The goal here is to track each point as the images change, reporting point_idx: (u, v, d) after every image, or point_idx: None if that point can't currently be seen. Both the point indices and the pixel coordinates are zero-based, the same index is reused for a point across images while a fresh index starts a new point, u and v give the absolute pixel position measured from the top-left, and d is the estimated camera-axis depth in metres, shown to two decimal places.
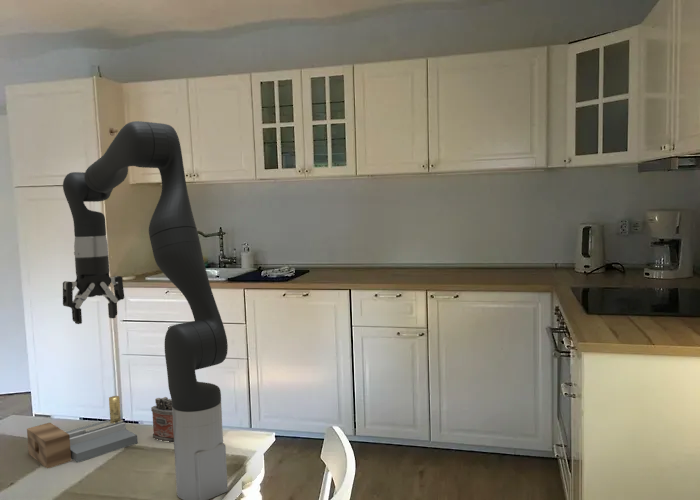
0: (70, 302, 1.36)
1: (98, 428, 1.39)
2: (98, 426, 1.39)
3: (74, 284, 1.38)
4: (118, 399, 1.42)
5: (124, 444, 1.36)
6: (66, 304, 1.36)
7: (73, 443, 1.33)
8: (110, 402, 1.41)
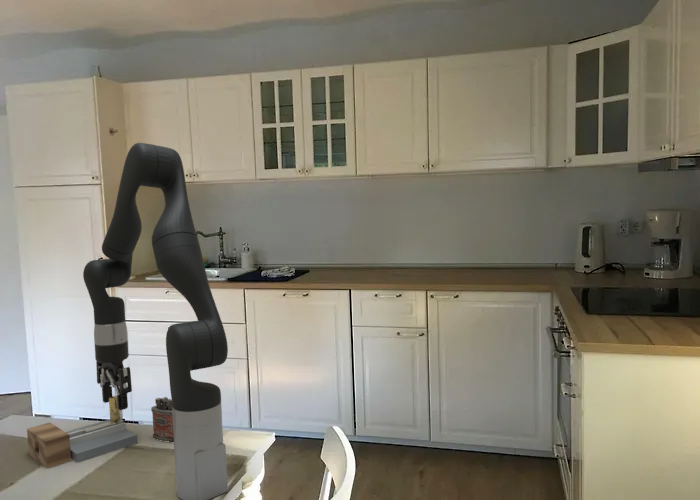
0: None
1: (98, 428, 1.39)
2: (98, 426, 1.39)
3: None
4: None
5: (124, 444, 1.36)
6: (129, 390, 1.38)
7: (73, 443, 1.33)
8: (110, 402, 1.41)
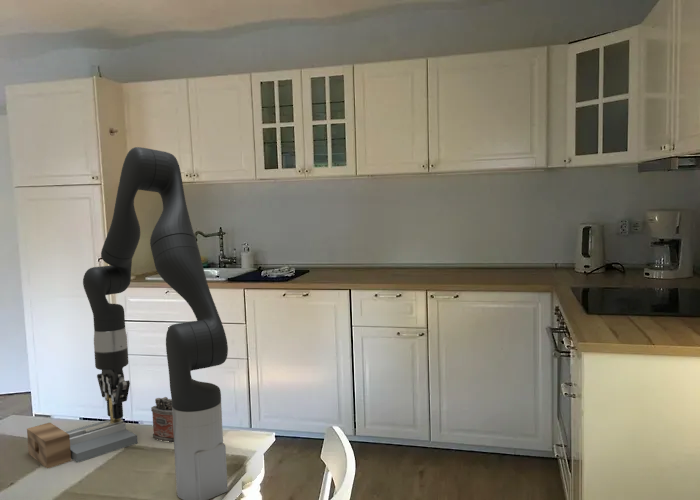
0: None
1: (98, 428, 1.39)
2: (98, 426, 1.39)
3: None
4: None
5: (124, 444, 1.36)
6: (124, 400, 1.40)
7: (73, 443, 1.33)
8: (110, 402, 1.41)
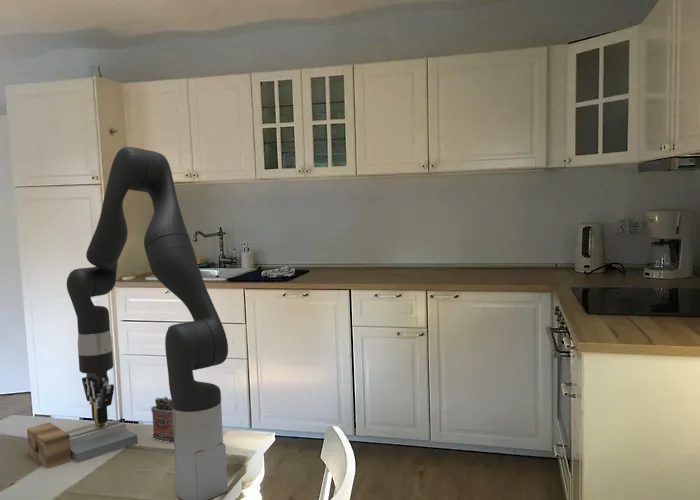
0: None
1: (82, 433, 1.36)
2: (82, 431, 1.37)
3: None
4: None
5: (124, 444, 1.36)
6: (108, 404, 1.37)
7: (73, 443, 1.33)
8: (95, 406, 1.38)
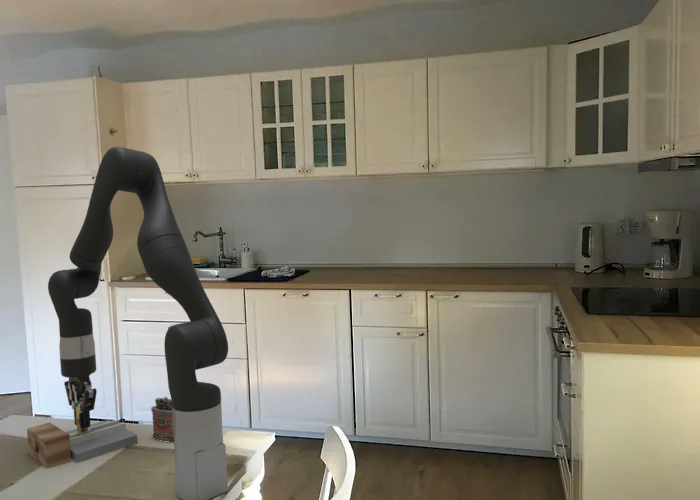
0: None
1: None
2: None
3: None
4: None
5: (124, 444, 1.36)
6: (91, 409, 1.34)
7: (73, 443, 1.33)
8: (77, 411, 1.35)
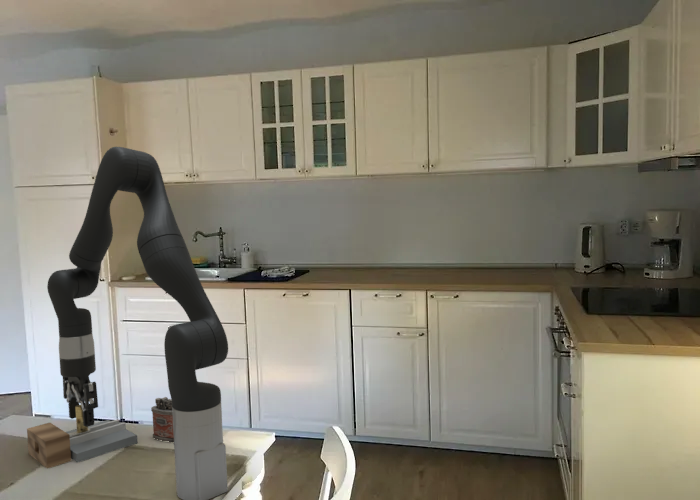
0: None
1: None
2: None
3: None
4: None
5: (124, 444, 1.36)
6: (95, 405, 1.32)
7: (73, 443, 1.33)
8: (76, 411, 1.35)
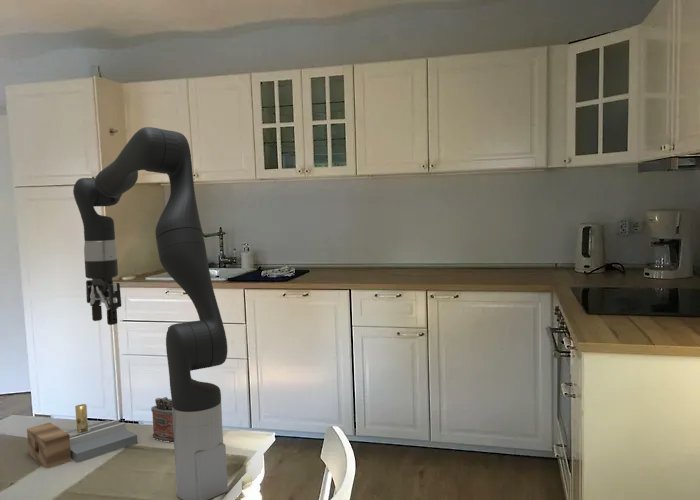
0: None
1: None
2: None
3: None
4: (85, 408, 1.36)
5: (124, 444, 1.36)
6: (119, 304, 1.41)
7: (73, 443, 1.33)
8: (76, 411, 1.35)
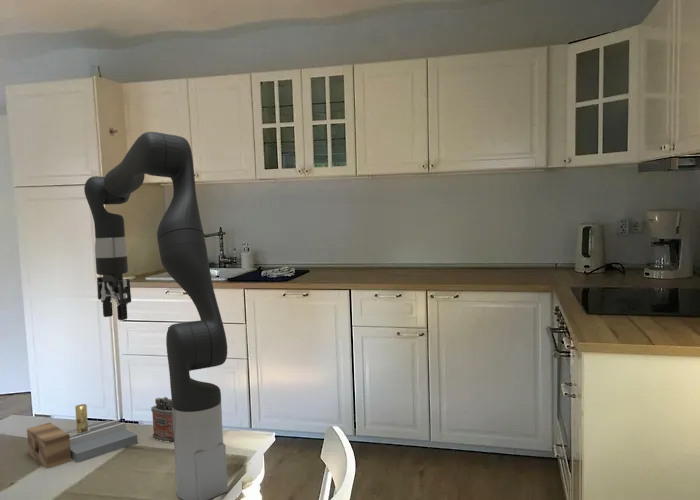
0: None
1: None
2: None
3: None
4: (85, 408, 1.36)
5: (124, 444, 1.36)
6: (128, 300, 1.44)
7: (73, 443, 1.33)
8: (76, 411, 1.35)
